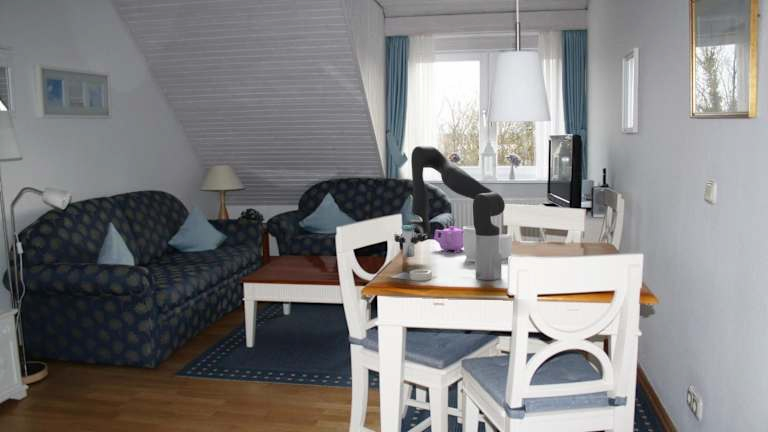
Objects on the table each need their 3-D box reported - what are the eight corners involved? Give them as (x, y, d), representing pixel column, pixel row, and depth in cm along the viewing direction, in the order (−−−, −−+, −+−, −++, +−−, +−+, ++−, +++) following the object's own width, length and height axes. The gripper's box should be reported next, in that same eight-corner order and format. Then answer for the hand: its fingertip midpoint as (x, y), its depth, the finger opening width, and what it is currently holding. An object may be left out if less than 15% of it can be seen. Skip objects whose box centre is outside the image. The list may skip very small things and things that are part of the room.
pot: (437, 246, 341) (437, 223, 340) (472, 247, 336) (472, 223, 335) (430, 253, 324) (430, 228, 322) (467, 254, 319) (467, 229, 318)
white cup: (512, 259, 305) (512, 237, 304) (494, 259, 307) (494, 237, 305) (512, 256, 313) (512, 234, 311) (494, 256, 314) (494, 234, 313)
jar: (458, 260, 305) (457, 227, 303) (472, 257, 312) (472, 224, 310) (477, 264, 297) (477, 229, 295) (491, 260, 304) (491, 226, 302)
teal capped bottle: (418, 255, 273) (417, 225, 271) (410, 257, 268) (410, 227, 267) (407, 254, 276) (406, 224, 274) (399, 256, 271) (398, 226, 270)
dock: (438, 279, 269) (438, 270, 268) (424, 284, 261) (424, 275, 260) (403, 275, 278) (403, 266, 277) (389, 280, 270) (389, 270, 269)
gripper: (395, 225, 286) (389, 231, 269) (430, 224, 284) (425, 230, 267) (396, 243, 287) (389, 250, 270) (430, 243, 284) (426, 250, 268)
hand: (407, 240), depth 269 cm, fingers closed on teal capped bottle, 4 cm apart
